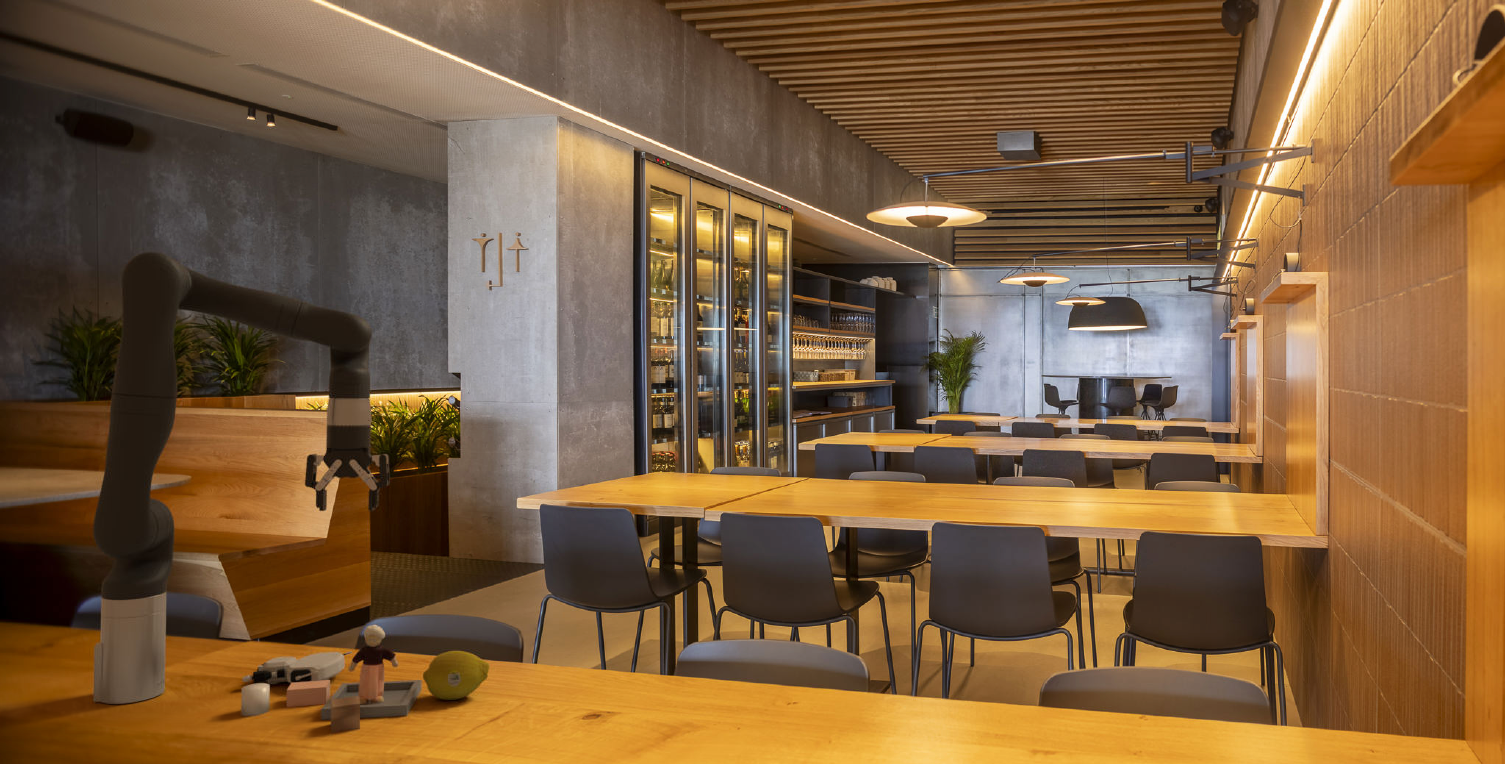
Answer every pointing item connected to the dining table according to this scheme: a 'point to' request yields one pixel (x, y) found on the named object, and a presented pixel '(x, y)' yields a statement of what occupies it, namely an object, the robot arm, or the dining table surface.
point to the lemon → (455, 674)
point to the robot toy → (299, 668)
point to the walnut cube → (345, 714)
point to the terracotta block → (308, 693)
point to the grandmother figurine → (372, 665)
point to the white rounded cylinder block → (255, 699)
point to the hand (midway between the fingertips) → (347, 510)
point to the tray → (395, 702)
